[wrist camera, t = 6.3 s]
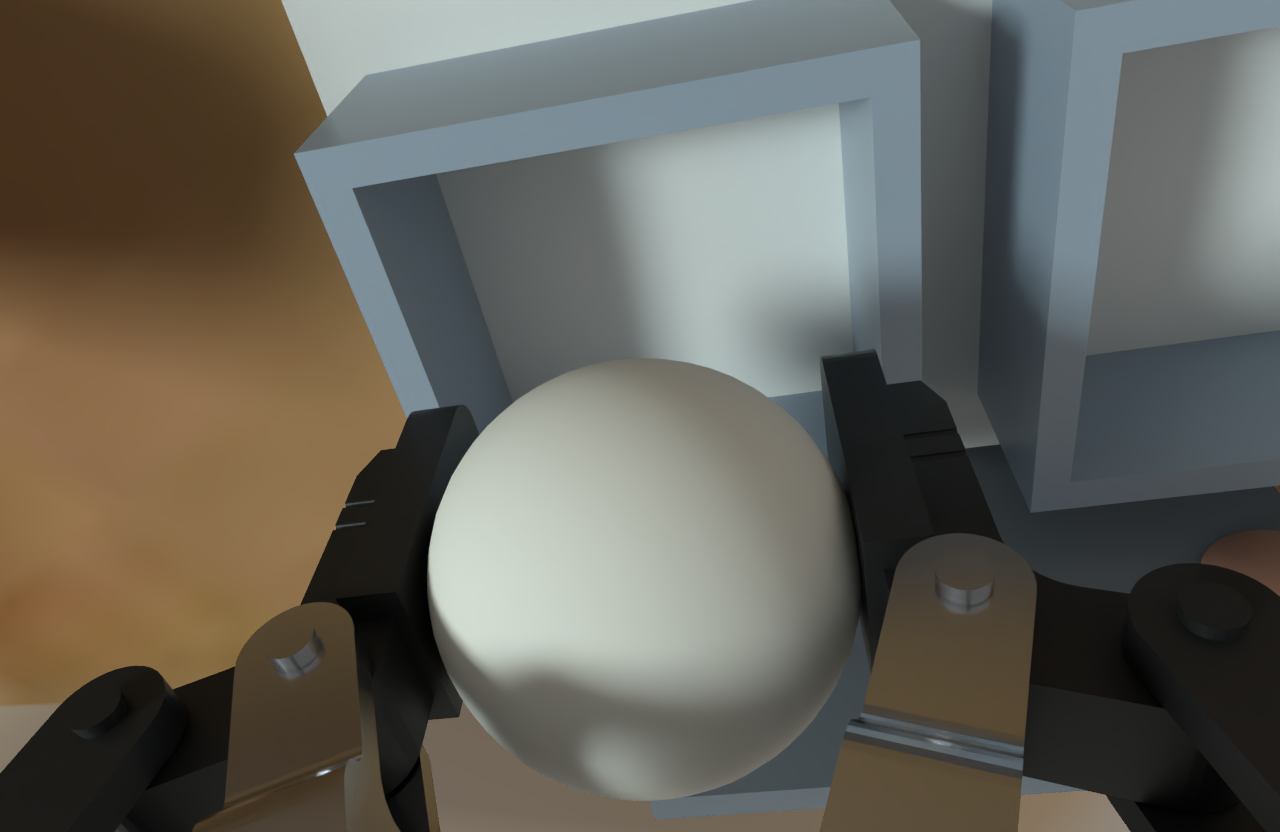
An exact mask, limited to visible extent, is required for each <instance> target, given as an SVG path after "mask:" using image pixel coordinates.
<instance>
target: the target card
mask: <svg viewBox="0 0 1280 832" xmlns="http://www.w3.org/2000/svg"><path fill="white" fill-rule="evenodd" d="M965 449H966V456H968V457H969V459H970V462H971V464H972V467H973V469H974V472H975V474H976V477H977V479H978V482H979V484H980V487H981V489H982V492H983V494H984V497H985V499H986V502H987V504H988V507H989V509H990V512H991V514H992V517H993V519H994V522H995V524H996V527H997V529H998V532H999V534H1000V537H1001V539H1002V540H1003V542H1004V544H1005V545H1007V546H1008V547H1010V548H1011V549H1013V550H1015V551H1016V552H1017V553H1018V554H1019V555H1020V556H1022V557H1023V558H1024V560H1025V561H1026V562H1027V563H1028V564H1029V566H1030V568H1031V569H1032V570H1034V571H1036V572H1037V573H1039V574H1041V575H1043V576H1046V577H1048V578H1051V579H1053V580H1056V581H1059V582H1063V583H1066V584H1070V585H1075V586H1080V587H1087V588H1094V589H1101V590H1108V591H1115V592H1122V593H1129V594H1130V592H1131V590H1132V588H1133V587H1134V585H1135V584H1136V582H1137V581H1138V580H1139V579H1140V578H1142V577H1143V576H1144V575H1146V574H1147V573H1149V572H1151V571H1152V570H1155V569H1158V568H1160V567H1163V566H1168V565H1172V564H1181V563H1202V564H1209V565H1216V566H1220V567H1224V568H1228V569H1231V570H1234V571H1237V572H1240V573H1242V574H1245V575H1247V576H1249V577H1251V578H1253V579H1255V580H1257V581H1259V582H1260V583H1262V584H1264V585H1265V586H1267V587H1268V588H1270V589H1271V590H1272V591H1274V592H1275V593H1276V594H1277V595H1279V596H1280V494H1279V492H1278V491H1277V490H1276V489H1275V487H1274V486H1272V487H1262V488H1253V489H1244V490H1235V491H1226V492H1217V493H1207V494H1198V495H1189V496H1180V497H1171V498H1162V499H1153V500H1143V501H1134V502H1125V503H1116V504H1107V505H1098V506H1088V507H1079V508H1070V509H1061V510H1052V511H1043V512H1033V513H1031V512H1030V510H1029V508H1028V506H1027V503H1026V501H1025V499H1024V497H1023V494H1022V492H1021V490H1020V488H1019V486H1018V483H1017V481H1016V479H1015V477H1014V474H1013V472H1012V470H1011V468H1010V466H1009V463H1008V461H1007V459H1006V457H1005V454H1004V452H1003V450H1002V448H1001V445H1000V444H998V445H990V446H981V447H973V448H965ZM870 676H871V674H870V669H869V664H868V660H867V655H866V650H865V645H864V640H863V635H862V630H861V625H860V620H858V625H857V629H856V633H855V638H854V642H853V646H852V650H851V653H850V655H849V657H848V660H847V662H846V664H845V666H844V669H843V671H842V673H841V676H840V678H839V680H838V682H837V685H836V687H835V689H834V690H833V692H832V693H831V695H830V696H829V698H828V699H827V701H826V702H825V704H824V705H823V707H822V708H821V710H820V711H819V712H818V714H817V715H816V717H815V718H814V720H813V721H812V722H811V723H810V724H809V725H808V726H807V728H806V729H805V730H804V731H803V732H802V733H801V734H800V735H799V736H798V737H797V738H796V739H795V740H794V741H793V742H792V743H791V744H790V745H789V746H788V747H787V748H785V749H784V750H783V751H782V752H780V753H779V754H778V755H777V756H776V757H774V758H773V759H771V760H770V761H768V762H767V763H765V764H763V765H762V766H760V767H759V768H757V769H755V770H754V771H752V772H751V773H749V774H747V775H746V776H744V777H742V778H740V779H738V780H736V781H734V782H732V783H729V784H727V785H724V786H721V787H719V788H716V789H712V790H709V791H705V792H702V793H698V794H694V795H691V796H686V797H681V798H676V799H667V800H654V801H649V803H650V806H651V809H652V812H653V815H654V818H655V819H669V818H685V817H700V816H715V815H730V814H744V813H758V812H774V811H789V810H804V809H819V808H826V804H827V800H828V796H829V792H830V788H831V784H832V780H833V776H834V771H835V767H836V763H837V759H838V755H839V751H840V747H841V744H842V740H843V737H844V734H845V731H846V728H847V726H848V724H849V722H850V720H851V719H852V718H856V719H859V717H860V715H861V712H862V709H863V705H864V701H865V697H866V693H867V689H868V684H869V680H870ZM1069 791H1070V792H1071V791H1086V790H1082V789H1078V788H1074V787H1069V786H1065V785H1060V784H1056V783H1051V782H1047V781H1043V780H1038V779H1034V778H1029V777H1025V776H1022V785H1021V795H1025V794H1041V793H1055V792H1069Z"/></svg>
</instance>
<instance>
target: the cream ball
mask: <svg viewBox="0 0 1280 832" xmlns="http://www.w3.org/2000/svg"><path fill="white" fill-rule="evenodd" d="M861 593H862V587H861V578H860V568H859V559H858V552H857V545H856V538H855V532H854V527H853V521H852V516H851V510H850V507H849V503H848V500H847V497H846V494H845V491H844V488H843V486H842V484H841V483H840V481H839V479H838V477H837V475H836V474H835V472H834V470H833V468H832V467H831V465H830V463H829V461H828V460H827V458H826V456H825V454H824V453H823V451H822V450H821V449H820V447H819V446H818V445H817V444H816V442H815V441H814V440H813V439H812V437H811V436H810V435H809V434H808V433H807V432H806V430H805V429H804V428H803V427H802V426H801V425H800V424H799V423H798V422H797V421H796V420H795V419H794V418H793V417H792V416H791V415H790V414H789V413H788V412H787V411H785V410H784V409H783V408H782V407H781V406H780V405H778V404H777V403H775V402H774V401H772V400H771V399H769V398H768V397H767V396H765V395H764V394H762V393H761V392H759V391H758V390H756V389H755V388H753V387H751V386H750V385H748V384H746V383H744V382H742V381H740V380H738V379H736V378H734V377H732V376H730V375H727V374H724V373H722V372H719V371H717V370H714V369H711V368H708V367H704V366H700V365H696V364H692V363H688V362H682V361H675V360H667V359H650V358H634V359H622V360H612V361H607V362H602V363H597V364H592V365H588V366H585V367H582V368H579V369H576V370H572V371H569V372H567V373H564V374H562V375H560V376H558V377H556V378H554V379H552V380H549V381H547V382H545V383H543V384H542V385H540V386H538V387H536V388H535V389H533V390H531V391H530V392H528V393H527V394H525V395H524V396H522V397H520V398H519V399H517V400H516V401H515V402H514V403H512V404H511V405H510V406H509V407H508V408H506V409H505V410H504V411H503V412H502V413H501V414H499V415H498V416H497V417H496V418H495V419H494V420H493V421H492V422H491V423H490V424H489V425H488V426H487V427H486V428H485V429H484V431H483V432H482V433H481V434H480V435H479V436H478V437H477V439H476V440H475V441H474V442H473V443H472V445H471V446H470V448H469V449H468V451H467V452H466V454H465V455H464V457H463V458H462V460H461V462H460V463H459V465H458V466H457V468H456V470H455V471H454V473H453V475H452V476H451V479H450V481H449V483H448V486H447V488H446V491H445V493H444V495H443V498H442V501H441V503H440V506H439V508H438V511H437V513H436V517H435V522H434V526H433V531H432V536H431V541H430V546H429V551H428V566H427V598H428V605H429V612H430V618H431V623H432V629H433V634H434V638H435V641H436V644H437V647H438V650H439V653H440V656H441V658H442V661H443V663H444V666H445V669H446V671H447V674H448V676H449V677H450V679H451V681H452V683H453V685H454V686H455V688H456V690H457V692H458V693H459V695H460V697H461V698H462V700H463V702H464V703H465V705H466V707H467V708H468V709H469V711H470V712H471V713H472V714H473V716H474V717H475V718H476V719H477V720H478V722H479V723H480V724H481V725H482V726H483V727H484V729H485V730H486V731H487V732H488V733H489V734H490V735H491V737H492V738H493V739H495V740H496V741H497V742H498V743H499V744H500V745H501V746H502V747H503V748H504V749H506V750H507V751H508V752H510V753H511V754H512V755H514V756H515V757H516V758H518V759H519V760H520V761H522V762H523V763H524V764H526V765H527V766H529V767H530V768H532V769H533V770H535V771H537V772H539V773H540V774H542V775H544V776H546V777H548V778H550V779H552V780H555V781H557V782H559V783H561V784H564V785H567V786H569V787H572V788H575V789H578V790H581V791H583V792H587V793H591V794H594V795H598V796H603V797H608V798H614V799H623V800H636V801H654V800H667V799H676V798H681V797H686V796H691V795H694V794H698V793H702V792H705V791H709V790H712V789H716V788H719V787H721V786H724V785H727V784H729V783H732V782H734V781H736V780H738V779H740V778H742V777H744V776H746V775H747V774H749V773H751V772H752V771H754V770H755V769H757V768H759V767H760V766H762V765H763V764H765V763H767V762H768V761H770V760H771V759H773V758H774V757H776V756H777V755H778V754H779V753H780V752H782V751H783V750H784V749H785V748H787V747H788V746H789V745H790V744H791V743H792V742H793V741H794V740H795V739H796V738H797V737H798V736H799V735H800V734H801V733H802V732H803V731H804V730H805V729H806V728H807V726H808V725H809V724H810V723H811V722H812V721H813V720H814V718H815V717H816V715H817V714H818V712H819V711H820V710H821V708H822V707H823V705H824V704H825V702H826V701H827V699H828V698H829V696H830V695H831V693H832V692H833V690H834V689H835V687H836V685H837V682H838V680H839V678H840V676H841V673H842V671H843V669H844V666H845V664H846V662H847V660H848V657H849V655H850V653H851V650H852V646H853V642H854V638H855V633H856V629H857V625H858V620H859V616H860V612H861Z"/></svg>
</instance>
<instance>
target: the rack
mask: <svg viewBox="0 0 1280 832" xmlns="http://www.w3.org/2000/svg"><path fill="white" fill-rule="evenodd" d="M281 1H282V3H283V6H284V8H285V11H286V13H287V16H288V18H289V21H290V23H291V26H292V28H293V31H294V34H295V36H296V39H297V41H298V44H299V46H300V49H301V51H302V54H303V56H304V59H305V61H306V64H307V66H308V69H309V71H310V74H311V76H312V79H313V81H314V84H315V87H316V89H317V92H318V94H319V97H320V99H321V102H322V104H323V107H324V109H325V112H326V114H327V118H326V119H325V120H324V121H323V122H322V123H321V124H320V125H319V127H318V128H317V129H316V130H315V131H314V132H313V133H312V134H311V135H310V136H309V137H308V139H307V140H306V141H305V142H304V143H303V144H302V145H301V146H300V147H299V148H298V149H297V151H296V152H295V153H294V156H295V158H296V161H297V163H298V165H299V168H300V170H301V172H302V175H303V177H304V179H305V182H306V184H307V186H308V189H309V191H310V193H311V196H312V198H313V200H314V203H315V205H316V207H317V210H318V212H319V214H320V217H321V219H322V221H323V224H324V226H325V228H326V231H327V233H328V235H329V238H330V240H331V242H332V245H333V247H334V249H335V252H336V254H337V256H338V259H339V261H340V263H341V266H342V268H343V270H344V273H345V275H346V277H347V280H348V282H349V284H350V287H351V289H352V291H353V294H354V296H355V298H356V301H357V303H358V305H359V308H360V310H361V312H362V315H363V317H364V319H365V322H366V324H367V326H368V329H369V331H370V333H371V336H372V338H373V340H374V343H375V345H376V347H377V350H378V352H379V354H380V357H381V359H382V361H383V364H384V366H385V368H386V371H387V373H388V375H389V378H390V380H391V382H392V384H393V387H394V389H395V391H396V394H397V396H398V398H399V401H400V403H401V405H402V408H403V410H404V412H405V415H406V417H407V418H408V416H409V415H410V413H411V412H413V411H419V410H426V409H433V408H440V407H448V406H455V405H465V406H466V407H467V408H468V409H469V410H470V412H471V414H472V416H473V419H474V421H475V424H476V427H477V430H478V432H479V435H480V434H481V433H482V432H483V431H484V429H485V428H486V427H487V426H488V425H489V424H490V423H491V422H492V421H493V420H494V419H495V418H496V417H497V416H498V415H499V414H501V413H502V412H503V411H504V410H505V409H506V408H508V407H509V406H510V405H511V404H512V403H514V402H515V401H516V400H517V399H519V398H520V397H522V396H524V395H525V394H527V393H528V392H530V391H531V390H533V389H535V388H536V387H538V386H540V385H542V384H543V383H545V382H547V381H549V380H552V379H554V378H556V377H558V376H560V375H562V374H564V373H567V372H569V371H572V370H576V369H579V368H582V367H585V366H588V365H592V364H597V363H602V362H607V361H612V360H622V359H634V358H650V359H667V360H675V361H682V362H688V363H692V364H696V365H700V366H704V367H708V368H711V369H714V370H717V371H719V372H722V373H724V374H727V375H730V376H732V377H734V378H736V379H738V380H740V381H742V382H744V383H746V384H748V385H750V386H751V387H753V388H755V389H756V390H758V391H759V392H761V393H762V394H764V395H765V396H767V397H768V398H769V399H771V400H772V401H774V402H775V403H777V404H778V405H780V406H781V407H782V408H783V409H784V410H785V411H787V412H788V413H789V414H790V415H791V416H792V417H793V418H794V419H795V420H796V421H797V422H798V423H799V424H800V425H801V426H802V427H803V428H804V429H805V430H806V432H807V433H808V434H809V435H810V436H811V437H812V439H813V440H814V441H815V442H816V444H817V445H818V446H819V447H820V449H821V450H822V451H823V453H824V454H825V456H826V458H827V460H828V452H827V442H826V430H825V419H824V408H823V396H822V385H821V373H820V356H825V355H832V354H839V353H846V352H854V351H861V350H868V349H875V350H876V352H877V355H878V358H879V361H880V364H881V367H882V371H883V374H884V377H885V380H886V383H887V385H888V384H896V383H903V382H911V381H918V380H921V381H922V382H923V383H925V384H926V385H927V386H928V387H929V388H931V389H932V390H933V391H934V392H935V393H937V394H938V395H939V396H940V397H942V398H943V399H944V400H945V401H946V402H947V405H948V407H949V410H950V412H951V415H952V417H953V420H954V422H955V425H956V427H957V433H959V435H960V437H961V439H962V442H963V444H964V447H965V448H973V447H981V446H990V445H998V444H1000V445H1001V448H1002V450H1003V452H1004V454H1005V457H1006V459H1007V461H1008V463H1009V466H1010V468H1011V470H1012V472H1013V474H1014V477H1015V479H1016V481H1017V483H1018V486H1019V488H1020V490H1021V492H1022V494H1023V497H1024V499H1025V501H1026V503H1027V506H1028V508H1029V510H1030V512H1031V513H1033V512H1043V511H1052V510H1061V509H1070V508H1079V507H1088V506H1098V505H1107V504H1116V503H1125V502H1134V501H1143V500H1153V499H1162V498H1171V497H1180V496H1189V495H1198V494H1207V493H1217V492H1226V491H1235V490H1244V489H1253V488H1262V487H1272V486H1280V0H281ZM828 461H829V460H828Z"/></svg>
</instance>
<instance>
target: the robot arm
mask: <svg viewBox="0 0 1280 832" xmlns="http://www.w3.org/2000/svg"><path fill="white" fill-rule="evenodd" d="M820 373H821V385H822V396H823V408H824V419H825V430H826V442H827V452H828V460H829V463H830V465H831V467H832V468H833V470H834V472H835V474H836V475H837V477H838V479H839V481H840V483H841V484H842V486H843V488H844V491H845V494H846V497H847V500H848V503H849V507H850V510H851V516H852V521H853V527H854V532H855V538H856V545H857V552H858V559H859V568H860V578H861V587H862V593H861V612H860V616H859V620H860V625H861V630H862V635H863V640H864V645H865V650H866V655H867V660H868V664H869V669H870V674H871V676H870V680H869V684H868V689H867V693H866V697H865V701H864V705H863V709H862V712H861V715H860V717H859V719H856V718H852V719H851V720H850V722H849V724H848V726H847V728H846V731H845V734H844V737H843V740H842V744H841V747H840V751H839V755H838V759H837V763H836V767H835V771H834V776H833V780H832V784H831V788H830V792H829V796H828V800H827V804H826V808H825V812H824V816H823V820H822V824H821V828H820V832H1018V821H1019V810H1020V798H1021V785H1022V776H1025V777H1029V778H1034V779H1038V780H1043V781H1047V782H1051V783H1056V784H1060V785H1065V786H1069V787H1074V788H1078V789H1082V790H1087V791H1092V792H1096V793H1100V794H1105V795H1106V796H1107V798H1108V799H1109V801H1110V802H1111V804H1112V805H1113V807H1114V808H1115V810H1116V811H1117V812H1118V814H1119V815H1120V817H1121V818H1122V820H1123V821H1124V823H1125V824H1126V825H1127V827H1128V828H1129V830H1130V831H1131V832H1280V596H1279V595H1277V594H1276V593H1275V592H1274V591H1272V590H1271V589H1270V588H1268V587H1267V586H1265V585H1264V584H1262V583H1260V582H1259V581H1257V580H1255V579H1253V578H1251V577H1249V576H1247V575H1245V574H1242V573H1240V572H1237V571H1234V570H1231V569H1228V568H1224V567H1220V566H1216V565H1209V564H1202V563H1181V564H1172V565H1168V566H1163V567H1160V568H1158V569H1155V570H1152V571H1151V572H1149V573H1147V574H1146V575H1144V576H1143V577H1142V578H1140V579H1139V580H1138V581H1137V582H1136V584H1135V585H1134V587H1133V588H1132V590H1131V592H1130V594H1129V593H1122V592H1115V591H1108V590H1101V589H1094V588H1087V587H1080V586H1075V585H1070V584H1066V583H1063V582H1059V581H1056V580H1053V579H1051V578H1048V577H1046V576H1043V575H1041V574H1039V573H1037V572H1036V571H1034V570H1032V569H1031V568H1030V566H1029V564H1028V563H1027V562H1026V561H1025V560H1024V558H1023V557H1022V556H1020V555H1019V554H1018V553H1017V552H1016V551H1015V550H1013V549H1011V548H1010V547H1008V546H1007V545H1005V544H1004V542H1003V540H1002V539H1001V537H1000V534H999V532H998V529H997V527H996V524H995V522H994V519H993V517H992V514H991V512H990V509H989V507H988V504H987V502H986V499H985V497H984V494H983V492H982V489H981V487H980V484H979V482H978V479H977V477H976V474H975V472H974V469H973V467H972V464H971V462H970V459H969V457H968V456H966V449H965V447H964V444H963V442H962V439H961V437H960V435H959V433H957V427H956V425H955V422H954V420H953V417H952V415H951V412H950V410H949V407H948V405H947V402H946V401H945V400H944V399H943V398H942V397H940V396H939V395H938V394H937V393H935V392H934V391H933V390H932V389H931V388H929V387H928V386H927V385H926V384H925V383H923V382H922V381H921V380H918V381H911V382H903V383H896V384H888V385H887V383H886V380H885V377H884V374H883V371H882V367H881V364H880V361H879V358H878V355H877V352H876V350H875V349H868V350H861V351H854V352H846V353H839V354H832V355H825V356H820ZM478 436H479V432H478V430H477V427H476V424H475V421H474V419H473V416H472V414H471V412H470V410H469V409H468V408H467V407H466V406H465V405H455V406H448V407H440V408H433V409H426V410H419V411H413V412H411V413H410V415H409V416H408V418H407V421H406V423H405V426H404V428H403V431H402V433H401V436H400V438H399V441H398V443H397V446H396V448H395V449H388V450H381V451H380V452H379V453H378V454H377V455H376V456H375V457H374V458H373V459H372V461H371V462H370V463H369V464H368V465H367V466H366V467H365V468H364V469H363V470H362V471H361V472H360V473H359V474H358V475H357V477H356V479H355V481H354V484H353V486H352V488H351V491H350V493H349V495H348V497H347V500H346V502H345V504H346V508H343V509H342V511H341V513H340V516H339V518H338V520H337V523H336V530H333V532H332V534H331V536H330V539H329V541H328V543H327V545H326V548H325V550H324V552H323V554H322V557H321V559H320V561H319V564H318V566H317V568H316V570H315V573H314V575H313V577H312V580H311V582H310V584H309V586H308V589H307V591H306V593H305V596H304V598H303V600H302V602H301V605H300V606H296V607H293V608H291V609H289V610H286V611H284V612H282V613H280V614H279V615H277V616H275V617H274V618H272V619H271V620H269V621H268V622H266V623H265V624H264V625H263V626H261V627H260V628H259V629H258V630H257V631H256V632H255V633H254V634H253V635H252V636H251V637H250V638H249V640H248V641H247V642H246V644H245V645H244V646H243V648H242V650H241V652H240V653H239V656H238V658H237V661H236V665H235V667H232V668H230V669H228V670H225V671H222V672H219V673H217V674H214V675H211V676H208V677H206V678H203V679H200V680H198V681H195V682H192V683H189V684H187V685H184V686H181V687H178V688H176V689H173V690H172V688H171V687H170V686H169V684H168V683H167V682H166V681H165V679H164V678H163V677H162V676H161V675H160V674H159V672H158V671H156V670H154V669H152V668H150V667H146V666H129V667H124V668H120V669H116V670H113V671H111V672H108V673H105V674H103V675H101V676H99V677H97V678H95V679H94V680H92V681H90V682H89V683H87V684H85V685H84V686H82V687H81V688H80V689H78V690H77V691H76V692H74V693H73V694H72V695H71V696H70V697H69V698H67V699H66V700H65V701H64V702H63V703H62V704H61V705H60V706H59V707H58V708H57V709H56V711H55V712H54V713H53V714H52V715H51V716H50V718H49V719H48V720H47V721H46V722H45V723H44V725H42V727H41V728H40V729H39V730H38V731H37V732H36V733H35V735H34V736H33V737H32V738H31V739H30V740H29V741H28V743H27V744H26V745H25V746H24V747H23V748H22V749H21V751H20V752H19V753H18V754H17V755H16V756H15V757H14V758H13V760H12V761H11V762H10V763H9V764H8V765H7V766H6V768H5V769H4V770H3V771H2V772H1V773H0V832H440V825H439V818H438V811H437V805H436V797H435V790H434V784H433V777H432V770H431V763H430V759H429V755H428V753H427V752H426V750H425V748H424V746H423V744H422V743H423V739H424V734H425V730H426V727H427V723H428V720H432V719H443V718H454V717H459V715H460V710H461V706H462V702H463V700H462V698H461V697H460V695H459V693H458V692H457V690H456V688H455V686H454V685H453V683H452V681H451V679H450V677H449V676H448V674H447V671H446V669H445V666H444V663H443V661H442V658H441V656H440V653H439V650H438V647H437V644H436V641H435V638H434V634H433V629H432V623H431V618H430V612H429V605H428V598H427V566H428V551H429V546H430V541H431V536H432V531H433V526H434V522H435V517H436V513H437V511H438V508H439V506H440V503H441V501H442V498H443V495H444V493H445V491H446V488H447V486H448V483H449V481H450V479H451V476H452V475H453V473H454V471H455V470H456V468H457V466H458V465H459V463H460V462H461V460H462V458H463V457H464V455H465V454H466V452H467V451H468V449H469V448H470V446H471V445H472V443H473V442H474V441H475V440H476V439H477V437H478Z"/></svg>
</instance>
